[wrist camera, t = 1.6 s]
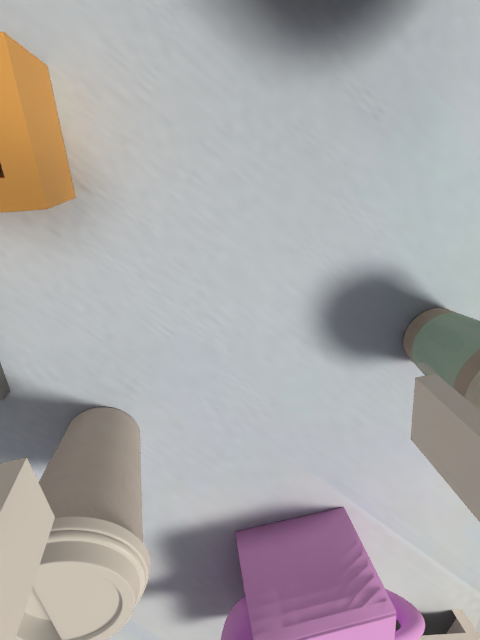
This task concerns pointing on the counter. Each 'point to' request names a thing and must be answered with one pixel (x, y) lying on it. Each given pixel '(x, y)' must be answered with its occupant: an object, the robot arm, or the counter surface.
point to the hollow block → (29, 134)
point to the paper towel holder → (457, 629)
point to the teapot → (314, 585)
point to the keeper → (3, 385)
